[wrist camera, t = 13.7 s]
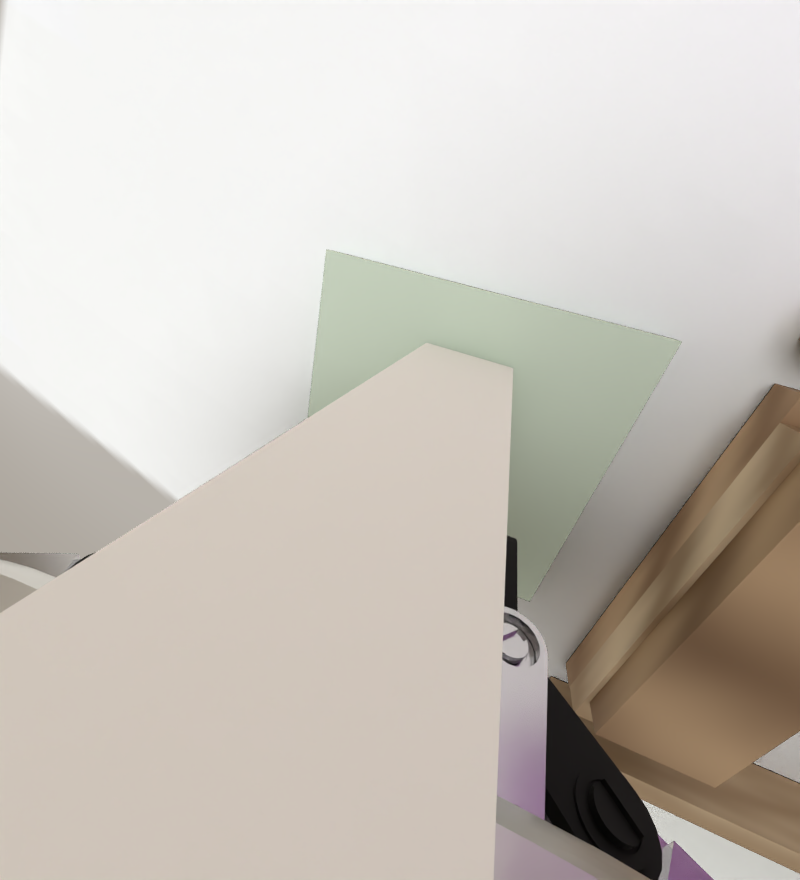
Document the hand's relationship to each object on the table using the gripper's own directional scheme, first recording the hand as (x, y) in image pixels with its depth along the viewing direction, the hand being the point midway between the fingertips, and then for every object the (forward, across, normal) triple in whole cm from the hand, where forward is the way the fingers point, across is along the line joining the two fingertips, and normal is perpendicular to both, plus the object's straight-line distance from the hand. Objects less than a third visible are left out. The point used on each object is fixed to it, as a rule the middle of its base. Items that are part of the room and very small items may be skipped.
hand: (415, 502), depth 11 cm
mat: (+5, 0, 0) cm, 5 cm away
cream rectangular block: (+3, 0, 0) cm, 3 cm away
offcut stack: (+5, -12, +2) cm, 13 cm away
